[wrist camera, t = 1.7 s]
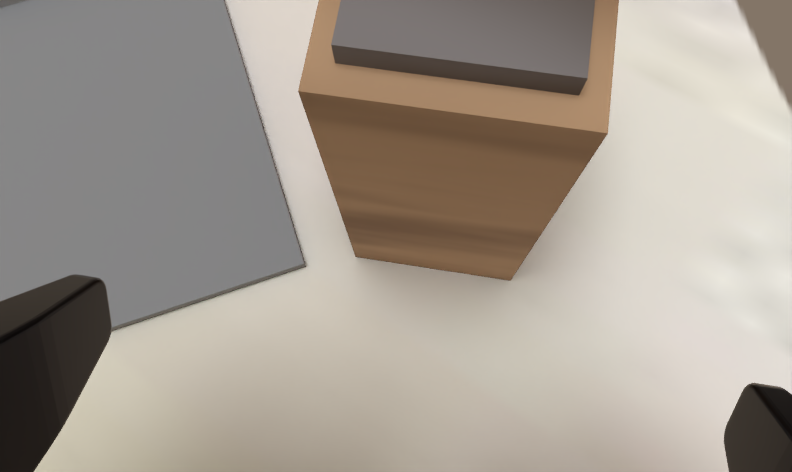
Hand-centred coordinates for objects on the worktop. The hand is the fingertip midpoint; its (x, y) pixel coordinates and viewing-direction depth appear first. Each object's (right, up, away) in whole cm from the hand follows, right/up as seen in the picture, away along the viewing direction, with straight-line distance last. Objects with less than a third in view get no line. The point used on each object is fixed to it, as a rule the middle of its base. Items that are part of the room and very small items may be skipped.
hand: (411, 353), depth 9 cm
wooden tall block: (+2, +4, +15) cm, 15 cm away
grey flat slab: (-12, +5, +15) cm, 20 cm away
